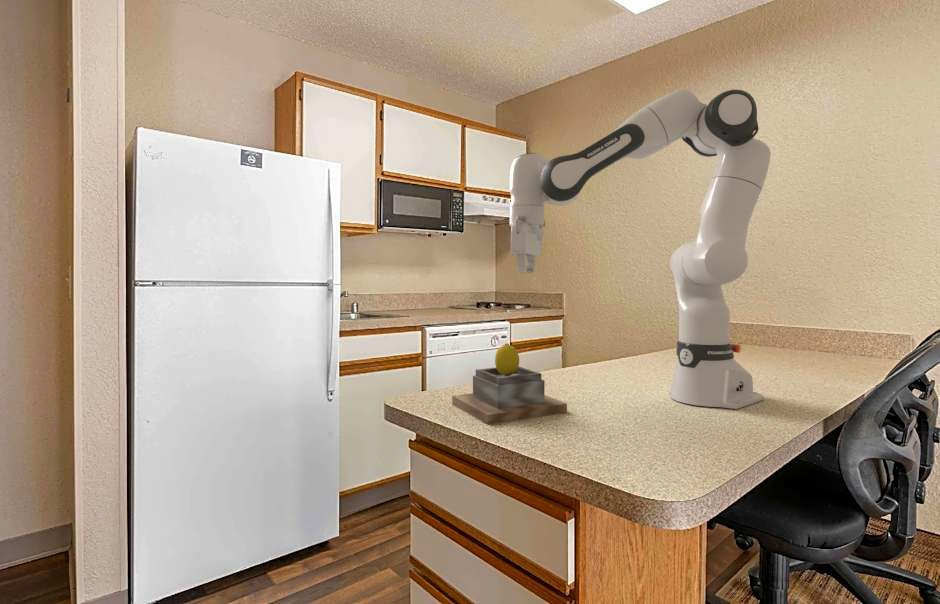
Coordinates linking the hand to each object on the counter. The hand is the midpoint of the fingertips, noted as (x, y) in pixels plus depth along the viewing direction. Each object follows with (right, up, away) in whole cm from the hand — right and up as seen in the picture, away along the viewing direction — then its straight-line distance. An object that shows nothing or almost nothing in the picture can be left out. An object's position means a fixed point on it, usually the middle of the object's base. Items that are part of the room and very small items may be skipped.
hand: (526, 273), depth 128 cm
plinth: (-6, -32, -13) cm, 35 cm away
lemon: (-6, -25, -14) cm, 29 cm away
